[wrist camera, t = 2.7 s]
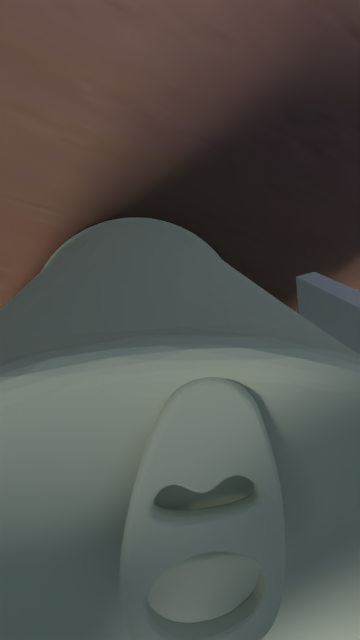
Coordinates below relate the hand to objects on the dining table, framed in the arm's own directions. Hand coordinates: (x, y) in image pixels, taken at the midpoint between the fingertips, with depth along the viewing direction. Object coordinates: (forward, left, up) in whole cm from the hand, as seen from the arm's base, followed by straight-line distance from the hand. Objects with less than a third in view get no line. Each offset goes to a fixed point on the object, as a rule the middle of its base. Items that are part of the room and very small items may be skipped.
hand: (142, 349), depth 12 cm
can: (0, 0, -3) cm, 3 cm away
